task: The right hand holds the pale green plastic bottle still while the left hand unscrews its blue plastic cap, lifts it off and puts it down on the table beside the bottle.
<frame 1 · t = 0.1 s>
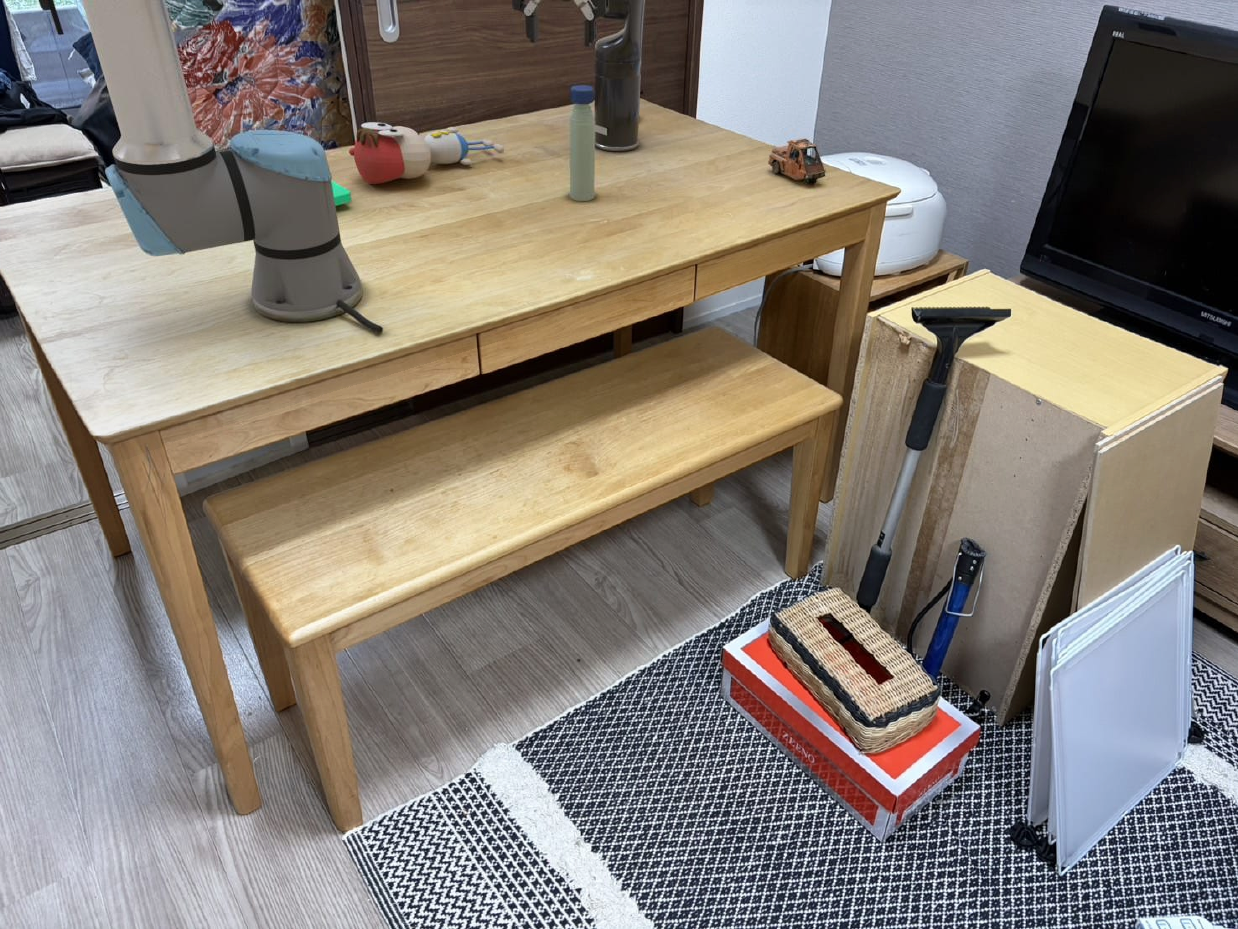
left hand: (108, 29, 146), 28 cm above the table, tool pointing down, fingers open, 13 cm apart
right hand: (561, 43, 141), 29 cm above the table, tool pointing down, fingers open, 8 cm apart
toy car: (795, 177, 181), on the table
bottle: (582, 196, 170), on the table
toy: (429, 170, 179), on the table
camera mount: (318, 203, 164), on the table
cap: (582, 89, 158), point 19 cm above the table, screwed on, not yet turned
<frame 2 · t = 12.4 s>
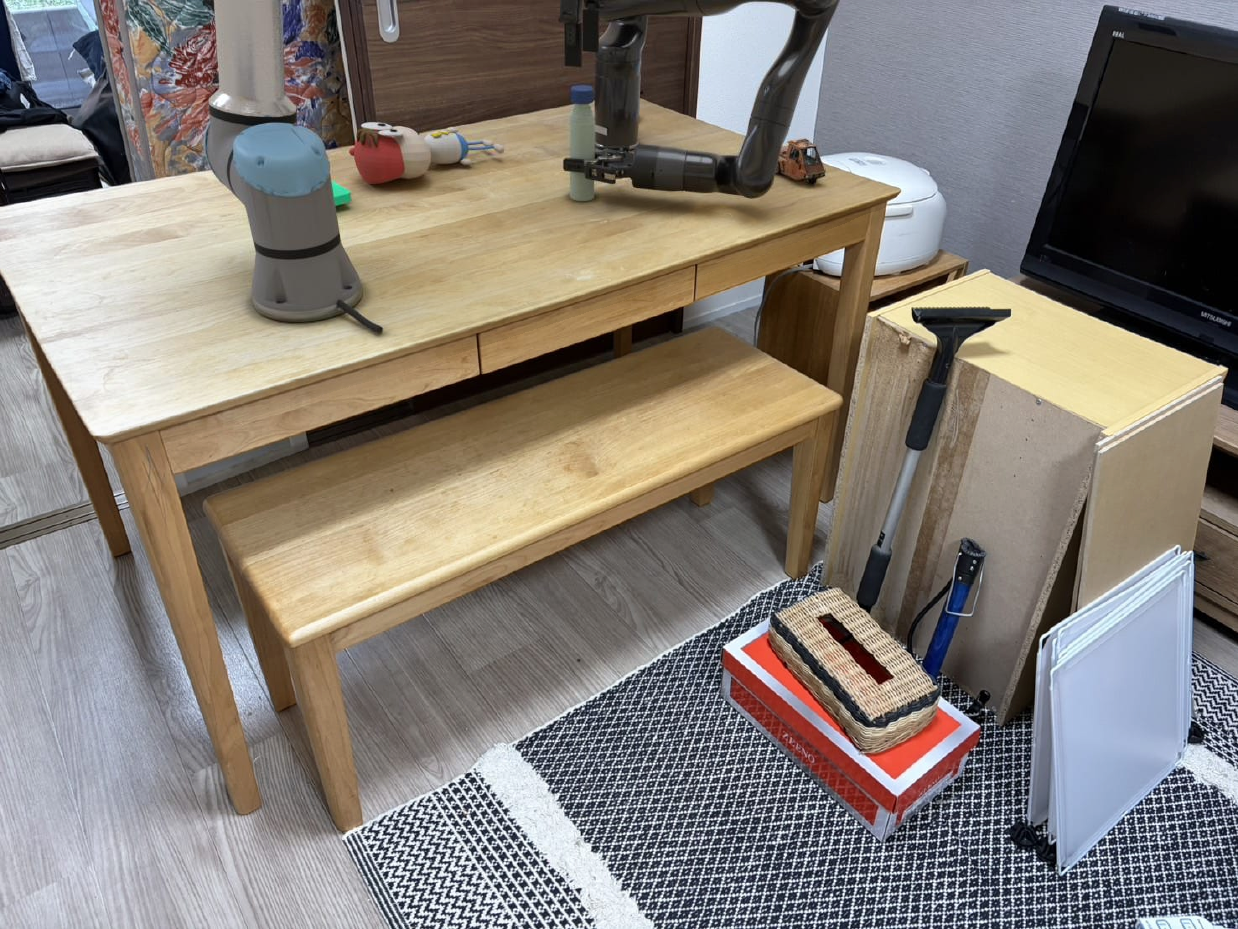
left hand: (582, 58, 155), 24 cm above the table, tool pointing down, fingers open, 10 cm apart
right hand: (567, 159, 166), 7 cm above the table, tool horizontal, fingers closed on bottle, 4 cm apart
bottle: (582, 196, 170), on the table, touching right hand
everything else where it was.
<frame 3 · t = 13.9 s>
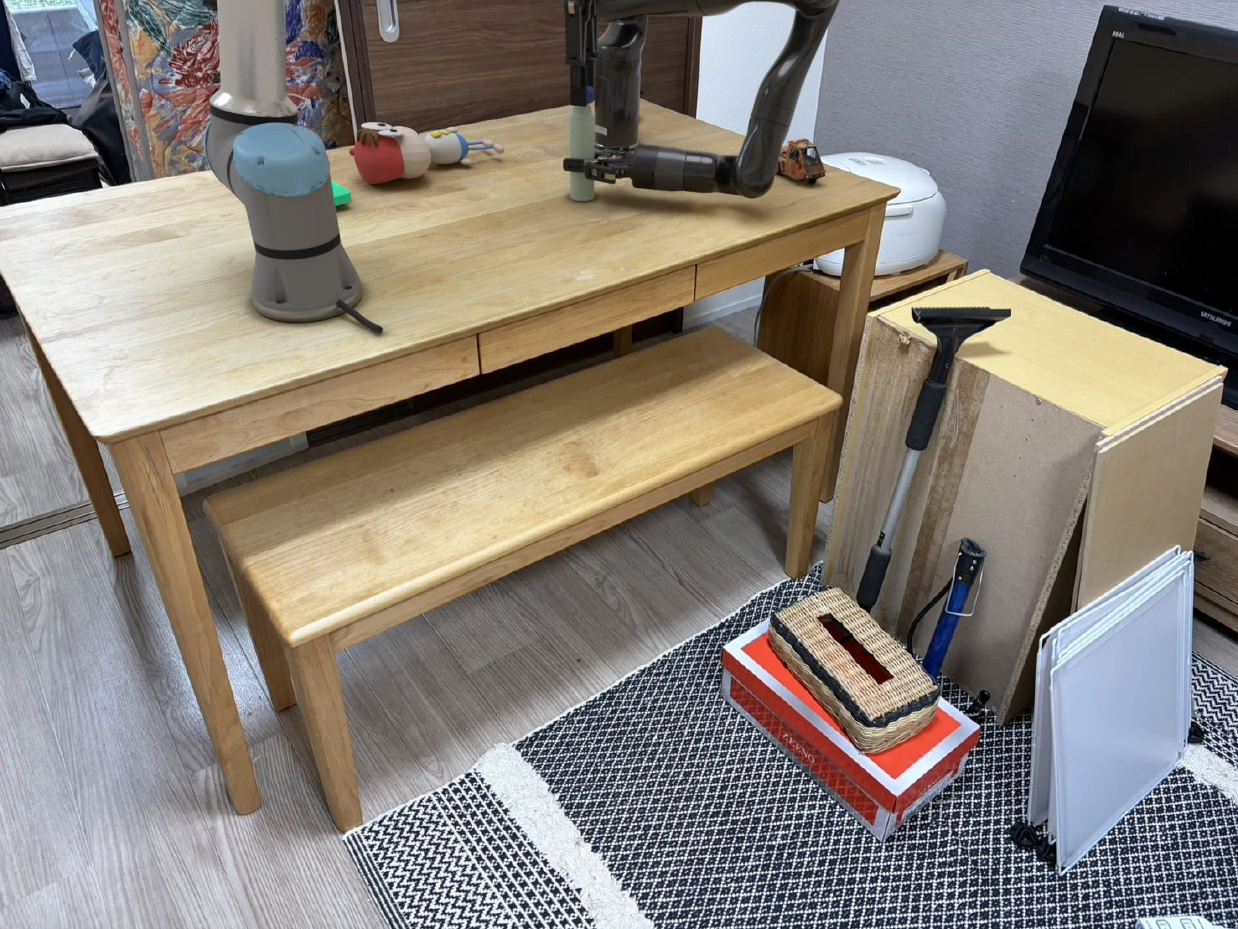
left hand: (582, 101, 160), 17 cm above the table, tool pointing down, fingers closed on cap, 4 cm apart
right hand: (567, 159, 166), 7 cm above the table, tool horizontal, fingers closed on bottle, 4 cm apart
bottle: (582, 196, 170), on the table, touching right hand
cap: (582, 89, 158), point 19 cm above the table, screwed on, not yet turned, touching left hand
everything else where it was.
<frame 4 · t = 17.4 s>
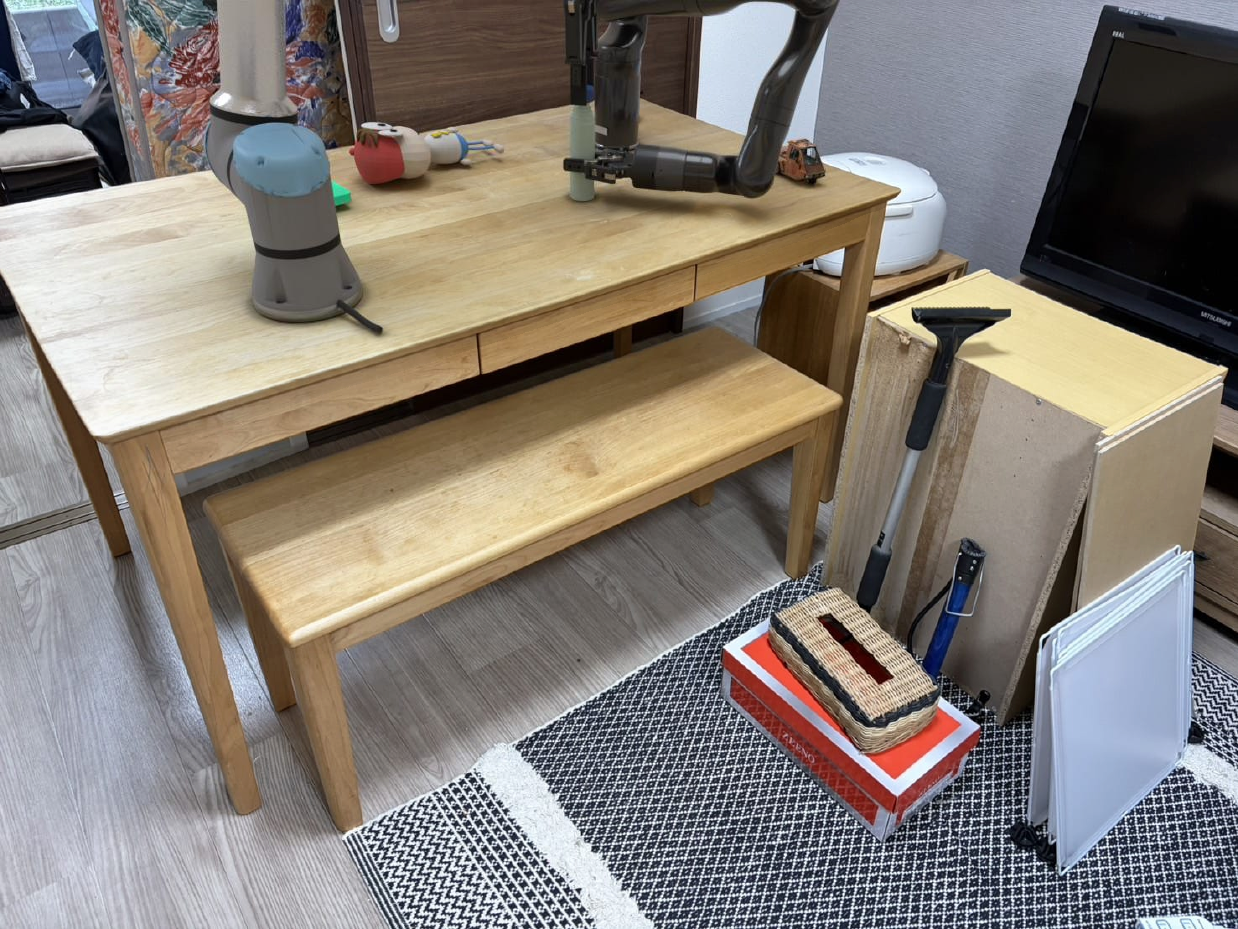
left hand: (582, 100, 159), 17 cm above the table, tool pointing down, fingers closed on cap, 4 cm apart
right hand: (567, 159, 166), 7 cm above the table, tool horizontal, fingers closed on bottle, 4 cm apart
bottle: (582, 196, 170), on the table, touching right hand
cap: (582, 88, 158), point 19 cm above the table, turned 120° so far, risen 0.1 cm, still on its thread, touching left hand
everything else where it was.
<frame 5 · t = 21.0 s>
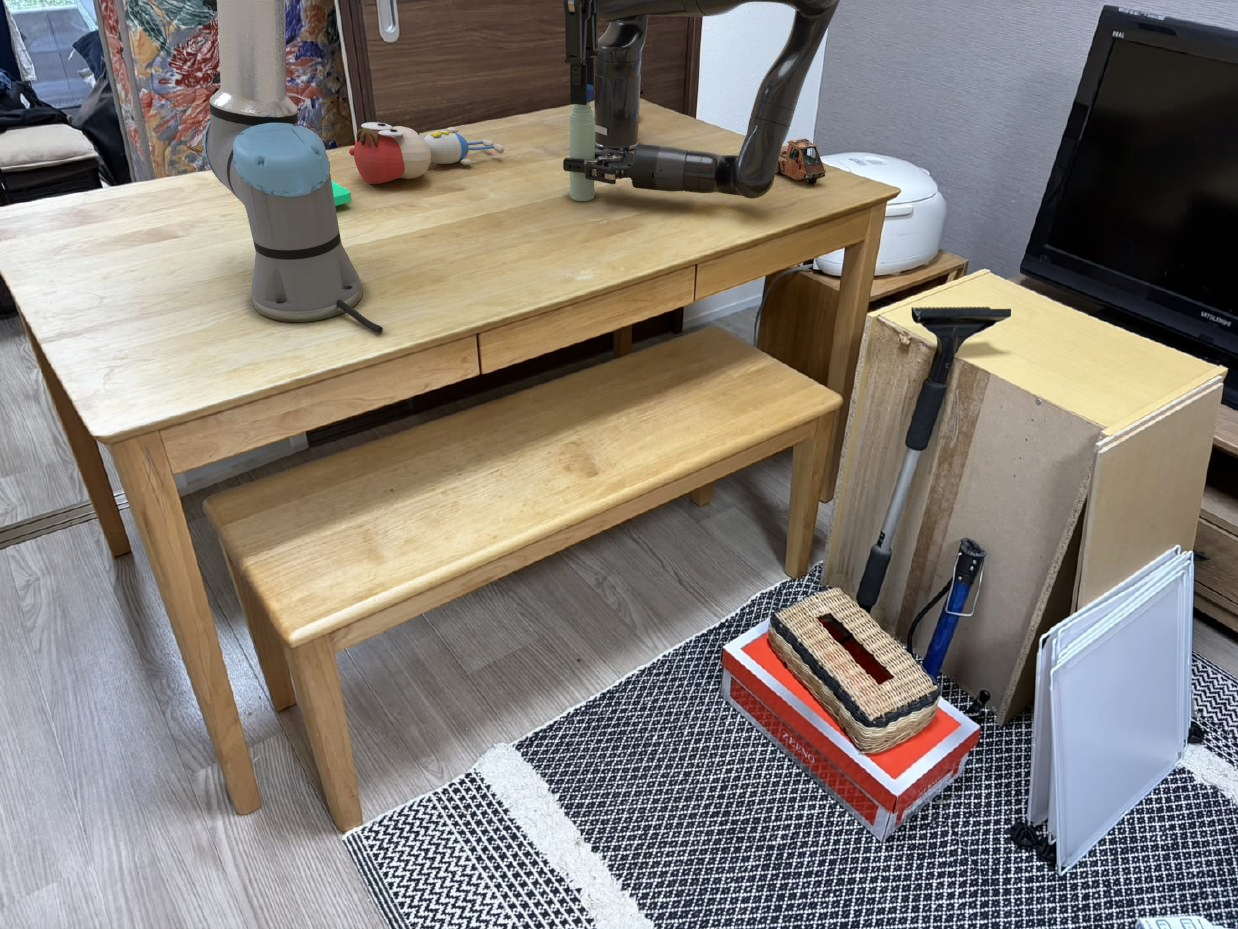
left hand: (582, 99, 159), 17 cm above the table, tool pointing down, fingers closed on cap, 4 cm apart
right hand: (567, 159, 166), 7 cm above the table, tool horizontal, fingers closed on bottle, 4 cm apart
bottle: (582, 196, 170), on the table, touching right hand
cap: (582, 88, 158), point 19 cm above the table, turned 239° so far, risen 0.3 cm, still on its thread, touching left hand
everything else where it was.
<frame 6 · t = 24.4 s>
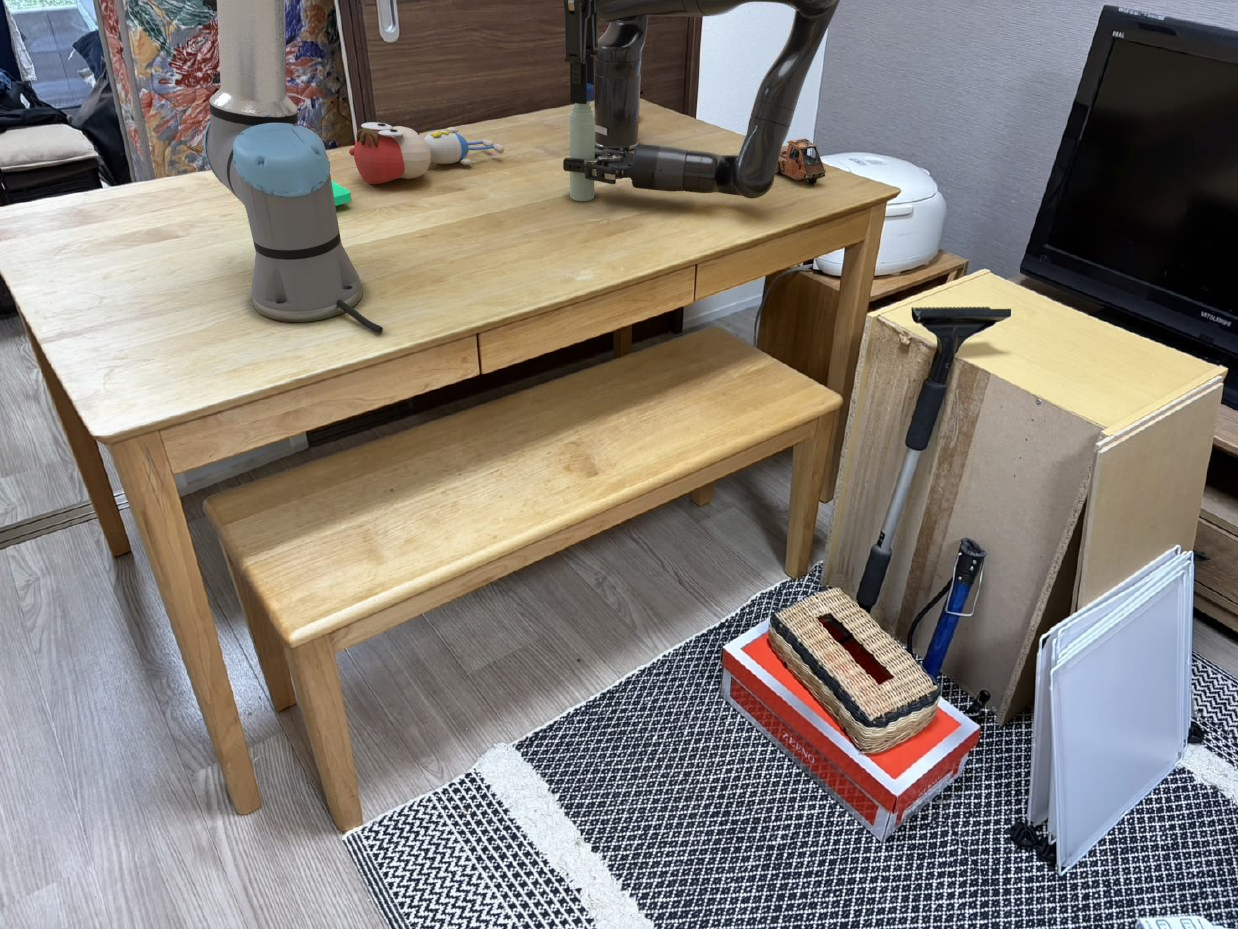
left hand: (582, 99, 159), 17 cm above the table, tool pointing down, fingers closed on cap, 4 cm apart
right hand: (567, 159, 166), 7 cm above the table, tool horizontal, fingers closed on bottle, 4 cm apart
bottle: (582, 196, 170), on the table, touching right hand
cap: (582, 87, 158), point 19 cm above the table, turned 359° so far, risen 0.4 cm, still on its thread, touching left hand
everything else where it was.
when the left hand's fingers open (1 cm above the table, at t = 31.0 s): cap drops 1 cm, point 2 cm above the table.
when the right hand's fingers open (7 cm above the table, at t = 32.3 s): bottle stays where it is, on the table.
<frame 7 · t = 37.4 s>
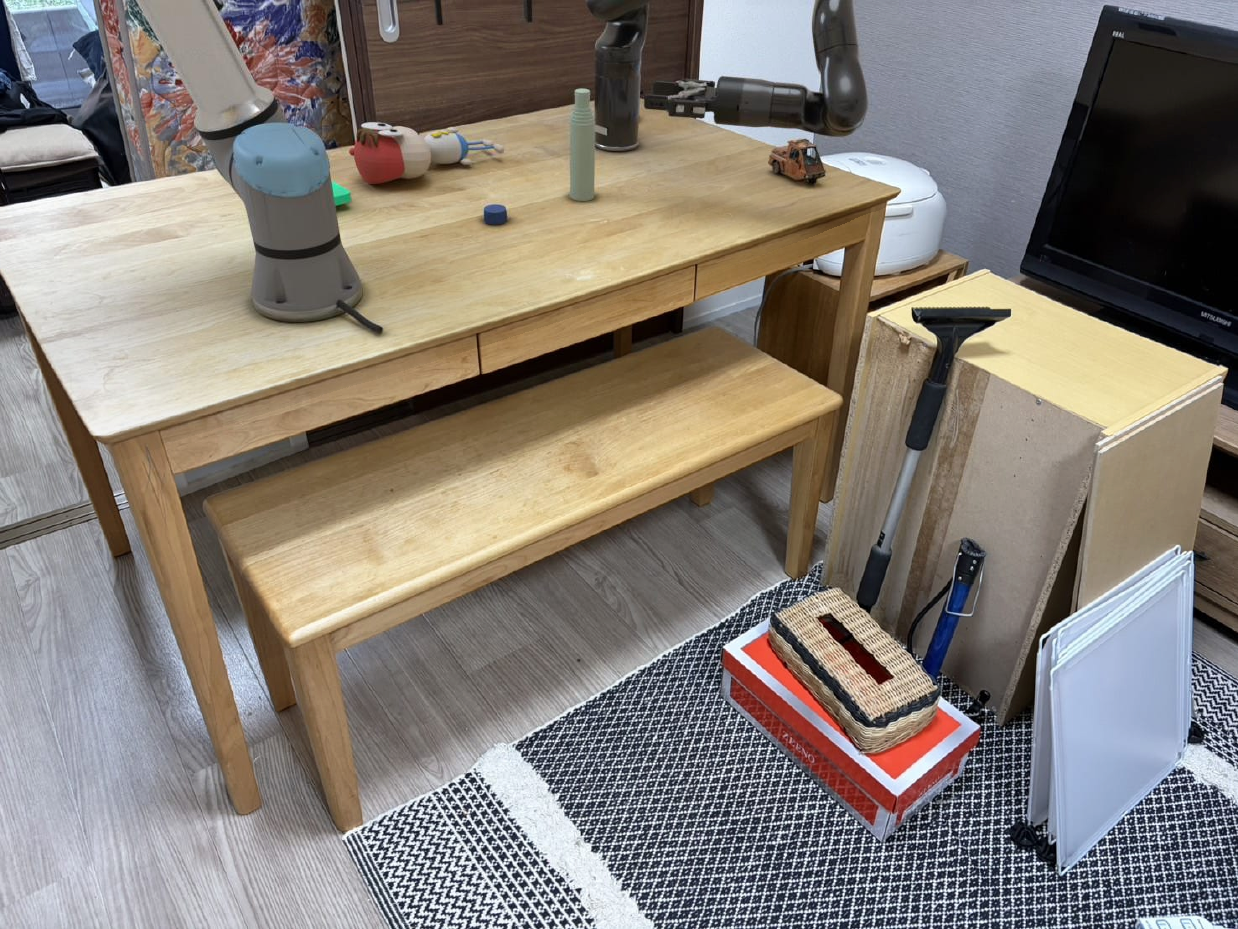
left hand: (484, 21, 141), 32 cm above the table, tool pointing down, fingers open, 13 cm apart
right hand: (649, 94, 157), 19 cm above the table, tool horizontal, fingers open, 8 cm apart
bottle: (582, 196, 170), on the table
cap: (495, 210, 159), point 2 cm above the table, off its thread
everything else where it was.
at the end: cap came off its thread; cap point 1.9 cm above the table; the left hand is holding nothing; the right hand is holding nothing; bottle tilted 0°; bottle moved 0.0 cm from its start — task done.
